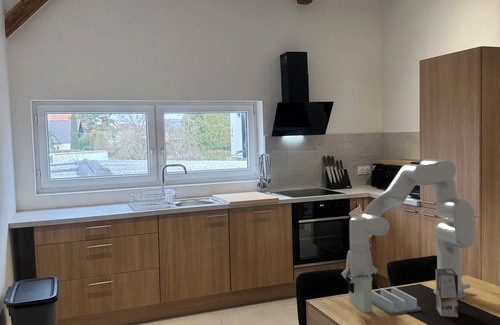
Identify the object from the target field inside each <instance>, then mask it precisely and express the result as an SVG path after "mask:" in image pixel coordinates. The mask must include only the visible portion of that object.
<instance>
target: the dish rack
mask: <svg viewBox="0 0 500 325" xmlns="http://www.w3.org/2000/svg"><path fill="white" fill-rule="evenodd" d="M390 289H391V290H390V291H388V290H386V289H385V288H380V289H379V290H380V291H379V292H380V294H379V293H378V292H376V291H374V290H372V306H375V307H376V308H378V309H379V310H381V311H383V312H384V313H385V314H387V315H389V316H396V314H397V315H401V313H403V314H407V313H408V312H409V313H414V312H420V311H422V308H421V307H420V306H418V304H417V303H418V298H415V297H414V296H412V295H410V294H408V293H407V292H404V291H403V290H400V289H399V288H396V287H394V286H390Z"/></svg>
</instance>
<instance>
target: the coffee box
mask: <svg viewBox="0 0 500 325" xmlns="http://www.w3.org/2000/svg"><path fill="white" fill-rule="evenodd" d="M435 288H436V294H435V299H436V301H435V307H436V311H437V312H438V313H439V315H440V316H441V317H449V318H458V317H459V299H458V275H457V274H456V273H455V272H454V271H453V270H452V269H437V268H435Z"/></svg>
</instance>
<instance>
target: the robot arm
mask: <svg viewBox="0 0 500 325" xmlns="http://www.w3.org/2000/svg"><path fill="white" fill-rule="evenodd" d="M456 173H457V167H456V165H455V164H454V162H453V161H451V160H448V159H437V158H436V159H435V158H427V159H423V160H422V161H420V163H419V164H417V163H416V164H415V163H408V164H404V165H403V166H402V167H401V168H400V170H398V172H397V174H396V175H395V177H394V178H393V180H392V181H391V183H389V185H388V187H387V188H386V189H385V191H384V192H382V193H380V195H378V196H377V197H376V198H374V199H373V200H372V201H371V202H369V204H368V205H367V206H366V208H365V210H364V211H363V212H362V214H361V216H354V217H351V218H350V219H349V227H348V228H349V250H348V251H347V254H346V263H345V269H344V270H343V271H342V272H341V274H340V275H342V277H343V278H344V279H345V281H347V285H348V288H347V289H348V292H349V291H350V292H352V293H354V283H353V281H354V279H355V277H358V276H366V277H368V278H370V279H372V281H373V280H374V277H376V274H377V273H378V271H379V270H378V268H376V267H375V266H374V265H373V258H372V253H371V250H370V248H371V247H372V244H371V243H369V242H370V240H369V239H370V238H369V236H383V235H386V234H387V233H388V232H389V230H390V223H389V222H390V221H388V219H386V218H384V217H382V214H384V212H386V211H387V210H389V209H391V208H394V207H397V206H400V205H402V204H403V203H404V202H406V200H407V199H408V197H409V195H410V194H411V192H412V190H413V189H414V188H415V187H416V186H420V187H421V186H422V187H423V186H430V185H431V186H433V190H434V196H435V198H434V199H435V210H436V214H437V215H438V217H440V218H442V219H444V220H447V221H442V222H439V223H438V224H437V225H436V226H435V228H434V238H435V244H436V253H437V255H436V256H437V258H436V261H437V264H436V266H437V268H436V269H452V270H453V271H454V272H455V273H456V274H457V275H458V300H460V299H463V298H466V292H465V291H464V290H467V289H471V288H472V286H471V284H470V283H465V284H464V283H463V282H462V251H461V249H463V250H464V249H469V248H471V247H472V246H473V245H474V244H475V241H476V222H475V219H476V218H475V212H474V211H475V210H474V208H473V206H472V204H471V203H470V202H469V201H467V200H466V199H461V198H458V194H457V187H456V182H455V180H454V177H455V176H456ZM433 293H434V295H436V287H435V288H434V289H433Z"/></svg>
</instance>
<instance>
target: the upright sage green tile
mask: <svg viewBox="0 0 500 325" xmlns="http://www.w3.org/2000/svg"><path fill="white" fill-rule="evenodd" d="M372 282H373V280H372V279H370V278H368V277H366V276H358V277H355V279H354V281H353V283H354V293H352V292H350V291H349V290H348V295H349V296H348V303H349V304H351V305H353V306H354V307H355V308H357V309H359V310H360V311H361V312H363V313H373V304H372V291H373V286H372V285H373V283H372Z"/></svg>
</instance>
